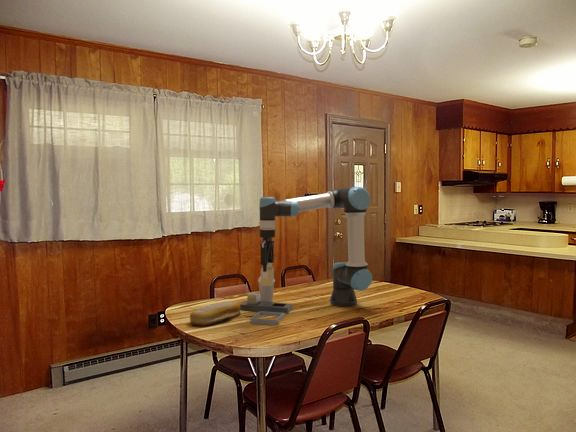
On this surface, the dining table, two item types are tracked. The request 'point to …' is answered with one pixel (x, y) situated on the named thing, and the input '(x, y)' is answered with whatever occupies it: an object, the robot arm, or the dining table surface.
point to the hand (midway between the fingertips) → (267, 277)
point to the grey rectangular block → (253, 298)
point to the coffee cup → (266, 292)
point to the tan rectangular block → (270, 278)
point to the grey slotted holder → (267, 307)
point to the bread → (215, 313)
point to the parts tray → (266, 321)
